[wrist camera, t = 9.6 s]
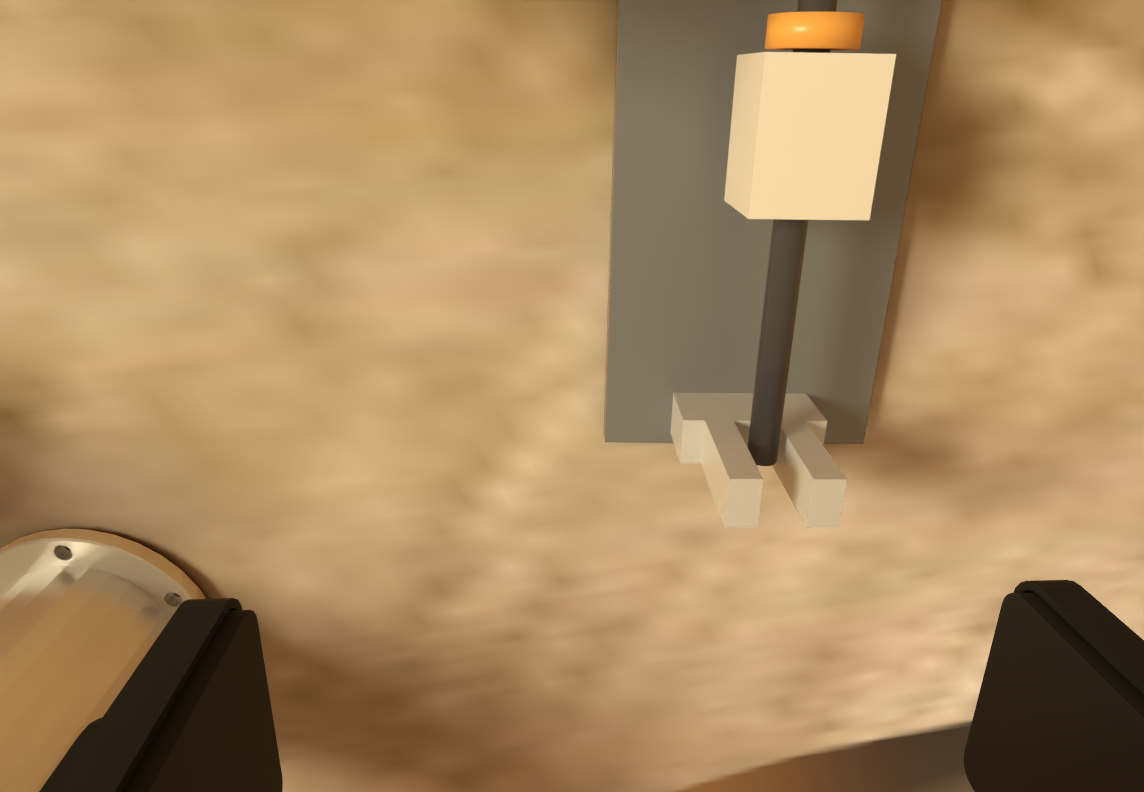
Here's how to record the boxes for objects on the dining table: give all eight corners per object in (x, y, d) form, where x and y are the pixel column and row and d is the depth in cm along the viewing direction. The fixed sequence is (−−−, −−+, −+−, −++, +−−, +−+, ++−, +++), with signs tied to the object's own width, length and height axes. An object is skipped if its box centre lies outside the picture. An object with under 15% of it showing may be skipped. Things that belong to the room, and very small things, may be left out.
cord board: (855, 434, 37) (942, 539, 28) (603, 432, 36) (617, 538, 28) (960, -175, 27) (1135, -283, 19) (624, -182, 27) (652, -295, 19)
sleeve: (829, 201, 29) (869, 220, 25) (724, 200, 29) (748, 218, 25) (850, 56, 27) (896, 54, 23) (737, 54, 27) (765, 51, 23)
